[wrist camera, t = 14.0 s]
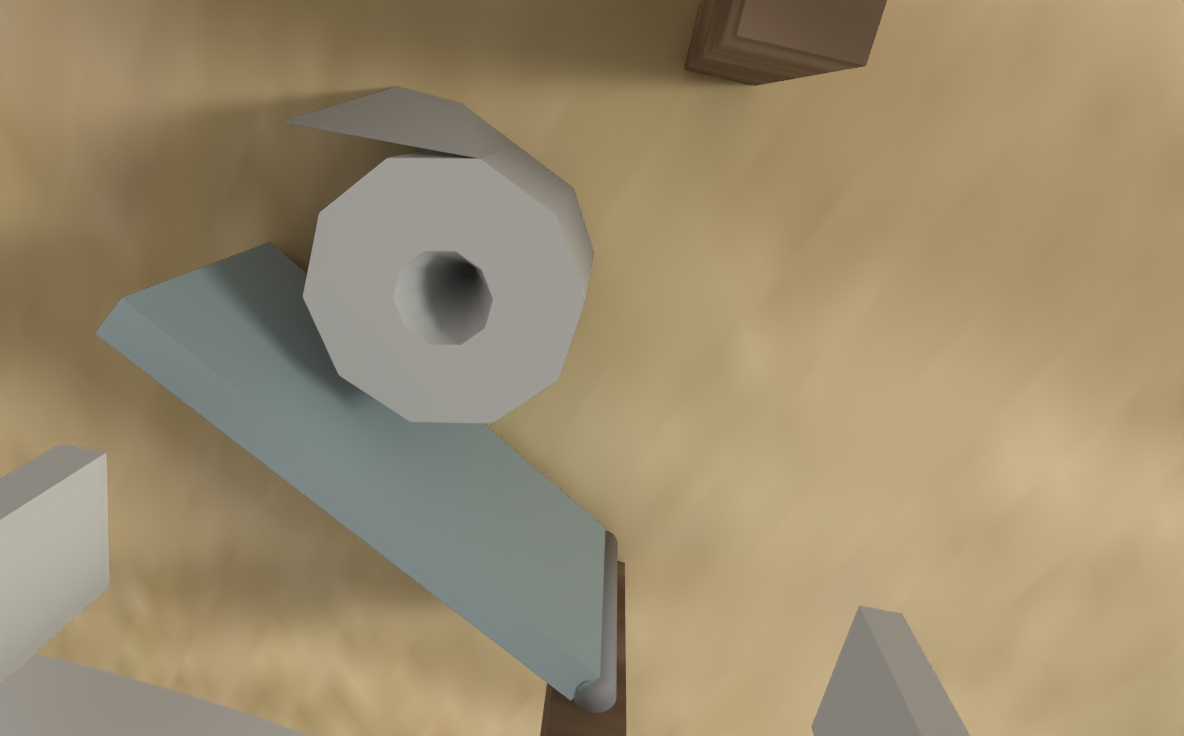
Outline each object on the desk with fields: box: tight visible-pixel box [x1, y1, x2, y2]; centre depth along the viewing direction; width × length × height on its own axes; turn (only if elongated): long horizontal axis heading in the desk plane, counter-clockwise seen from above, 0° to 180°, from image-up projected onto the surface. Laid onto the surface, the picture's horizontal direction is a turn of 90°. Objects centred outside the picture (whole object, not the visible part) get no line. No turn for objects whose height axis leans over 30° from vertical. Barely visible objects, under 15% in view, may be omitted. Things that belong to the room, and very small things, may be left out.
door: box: [95, 242, 617, 713], centre depth 30 cm, size 22×3×10 cm, turn 46°
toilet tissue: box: [282, 86, 594, 424], centre depth 28 cm, size 9×13×9 cm
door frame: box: [540, 0, 887, 736], centre depth 25 cm, size 36×3×14 cm, turn 168°
